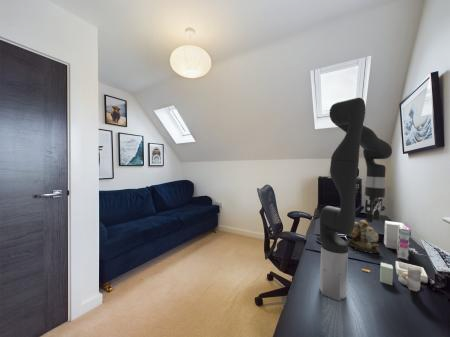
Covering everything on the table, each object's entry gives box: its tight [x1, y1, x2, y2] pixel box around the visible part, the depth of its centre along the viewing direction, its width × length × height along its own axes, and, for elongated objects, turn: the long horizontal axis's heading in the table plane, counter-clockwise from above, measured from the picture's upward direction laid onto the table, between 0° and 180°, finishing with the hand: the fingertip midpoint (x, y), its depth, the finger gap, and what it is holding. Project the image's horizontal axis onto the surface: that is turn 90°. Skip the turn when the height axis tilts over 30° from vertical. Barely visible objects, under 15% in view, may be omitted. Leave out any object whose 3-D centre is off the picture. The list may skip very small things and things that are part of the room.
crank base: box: [361, 268, 422, 287], centre depth 89 cm, size 20×7×2 cm, turn 53°
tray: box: [394, 260, 429, 284], centre depth 92 cm, size 10×10×3 cm
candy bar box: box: [396, 224, 412, 261], centre depth 112 cm, size 11×5×16 cm, turn 141°
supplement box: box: [383, 220, 406, 250], centre depth 125 cm, size 9×9×15 cm
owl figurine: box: [346, 219, 381, 254], centre depth 121 cm, size 18×12×17 cm, turn 34°
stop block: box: [379, 262, 394, 286], centre depth 86 cm, size 4×4×7 cm
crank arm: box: [401, 267, 421, 293], centre depth 81 cm, size 15×5×8 cm, turn 143°
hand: (373, 220), depth 94 cm, fingers open, 8 cm apart
